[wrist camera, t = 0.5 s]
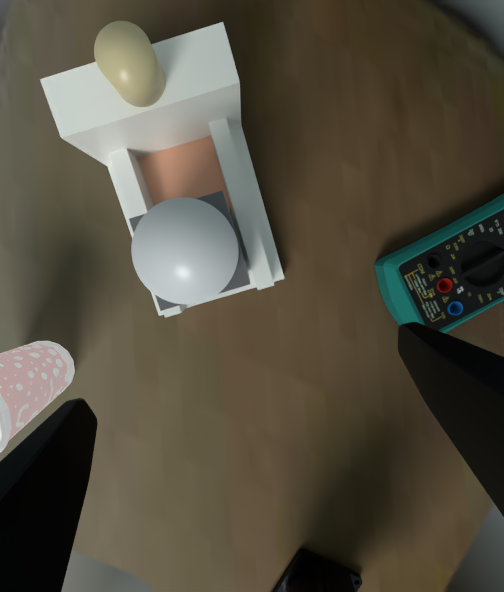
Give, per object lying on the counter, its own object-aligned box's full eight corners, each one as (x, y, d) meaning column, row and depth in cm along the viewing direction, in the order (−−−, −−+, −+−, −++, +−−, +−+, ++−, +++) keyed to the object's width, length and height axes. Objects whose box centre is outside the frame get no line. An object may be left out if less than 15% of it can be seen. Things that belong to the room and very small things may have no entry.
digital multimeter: (363, 265, 26) (378, 267, 23) (531, 174, 25) (569, 164, 22) (401, 341, 27) (420, 352, 24) (564, 256, 26) (604, 257, 23)
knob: (248, 274, 24) (251, 287, 15) (185, 293, 24) (151, 317, 15) (229, 208, 23) (219, 183, 15) (163, 228, 23) (116, 215, 15)
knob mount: (282, 277, 25) (304, 292, 16) (163, 312, 26) (116, 348, 16) (229, 89, 23) (219, -17, 14) (100, 129, 24) (5, 50, 14)
